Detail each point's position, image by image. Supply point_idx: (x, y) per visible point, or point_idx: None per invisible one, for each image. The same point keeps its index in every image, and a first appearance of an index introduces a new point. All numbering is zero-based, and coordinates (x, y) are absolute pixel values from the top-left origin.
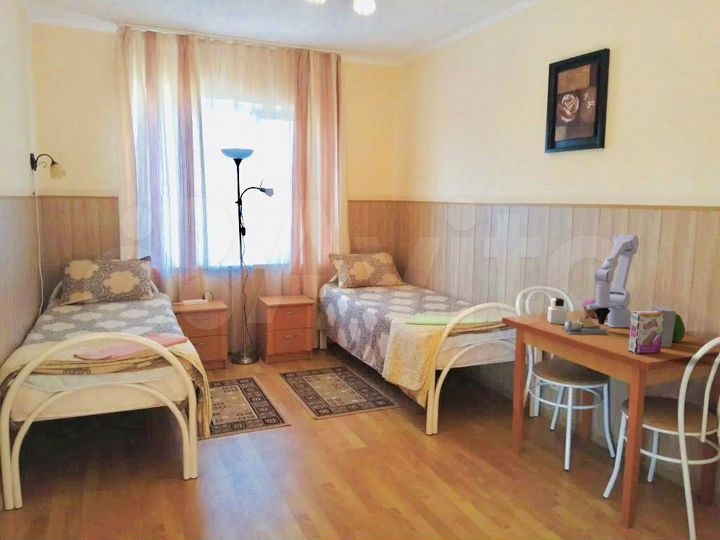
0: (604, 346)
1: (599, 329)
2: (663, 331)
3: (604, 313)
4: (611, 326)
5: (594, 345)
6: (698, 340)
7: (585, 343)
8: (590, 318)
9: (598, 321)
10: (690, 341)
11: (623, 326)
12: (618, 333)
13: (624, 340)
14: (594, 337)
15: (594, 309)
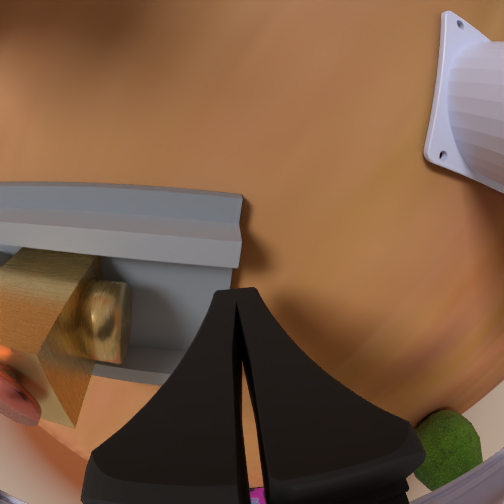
0: None
1: (156, 382)
2: None
3: (249, 489)
4: (432, 157)
5: (84, 455)
6: (490, 388)
7: (54, 437)
8: (53, 421)
9: (210, 309)
10: (465, 404)
11: (498, 183)
12: (330, 342)
13: (245, 442)
14: (102, 401)
15: (93, 479)
